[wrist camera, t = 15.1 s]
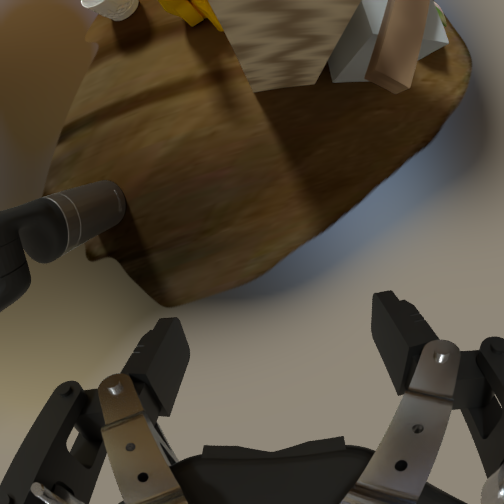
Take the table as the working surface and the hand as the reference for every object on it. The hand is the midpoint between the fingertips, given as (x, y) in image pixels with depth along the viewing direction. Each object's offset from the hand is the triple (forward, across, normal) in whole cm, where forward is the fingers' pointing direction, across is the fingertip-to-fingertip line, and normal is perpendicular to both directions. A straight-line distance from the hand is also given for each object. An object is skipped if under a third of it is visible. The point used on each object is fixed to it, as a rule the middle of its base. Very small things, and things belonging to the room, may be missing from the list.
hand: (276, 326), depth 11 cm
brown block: (+15, -18, -24) cm, 34 cm away
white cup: (+39, +21, -44) cm, 62 cm away
